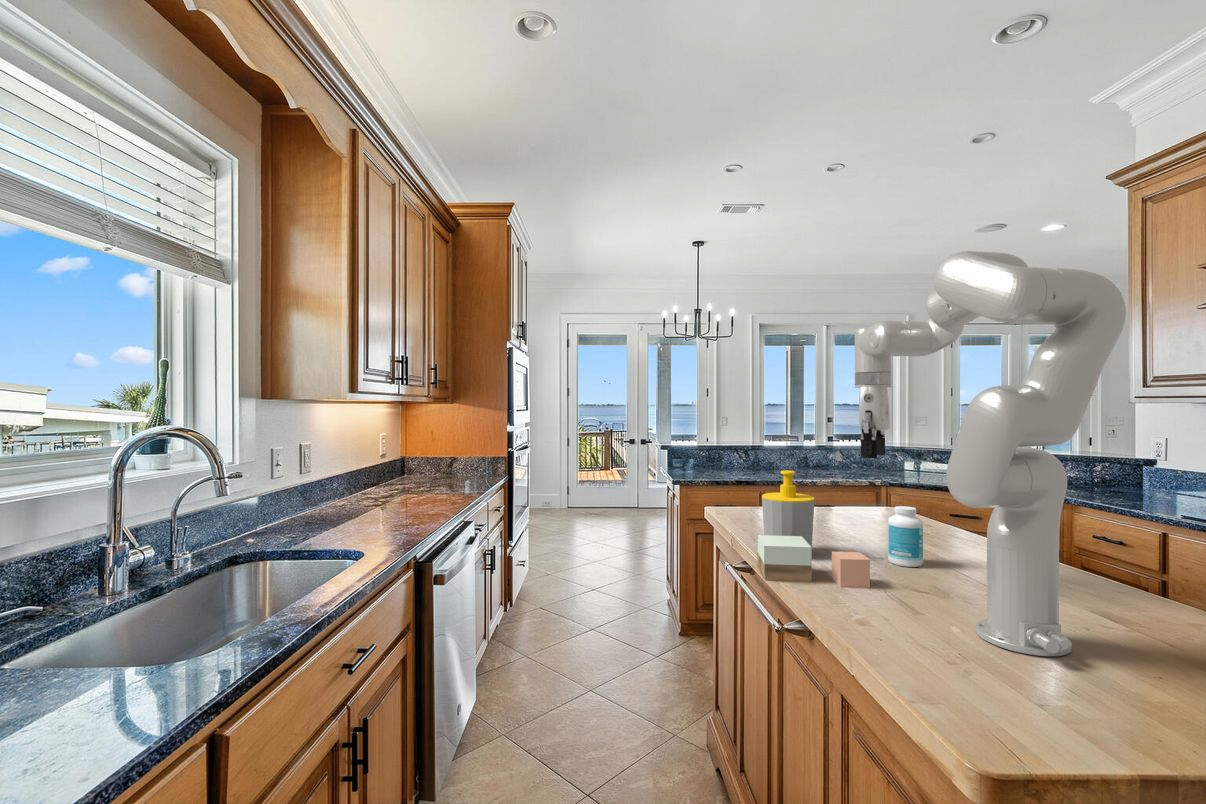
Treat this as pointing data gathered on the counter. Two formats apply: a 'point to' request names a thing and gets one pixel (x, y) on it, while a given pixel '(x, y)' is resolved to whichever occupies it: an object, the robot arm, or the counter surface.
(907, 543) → the pill bottle
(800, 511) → the soap bottle
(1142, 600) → the counter surface
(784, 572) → the tower base
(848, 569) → the cube
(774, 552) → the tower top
